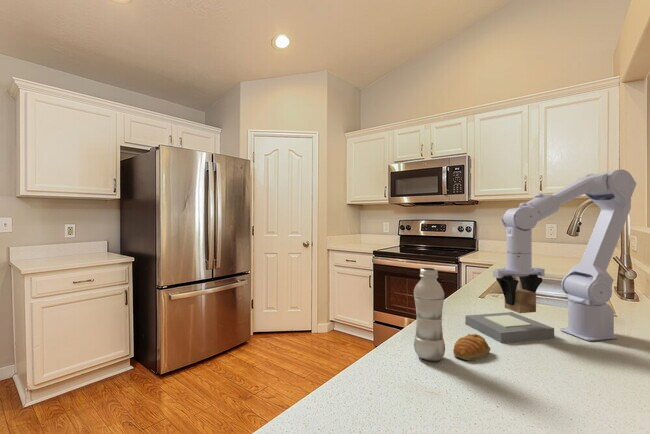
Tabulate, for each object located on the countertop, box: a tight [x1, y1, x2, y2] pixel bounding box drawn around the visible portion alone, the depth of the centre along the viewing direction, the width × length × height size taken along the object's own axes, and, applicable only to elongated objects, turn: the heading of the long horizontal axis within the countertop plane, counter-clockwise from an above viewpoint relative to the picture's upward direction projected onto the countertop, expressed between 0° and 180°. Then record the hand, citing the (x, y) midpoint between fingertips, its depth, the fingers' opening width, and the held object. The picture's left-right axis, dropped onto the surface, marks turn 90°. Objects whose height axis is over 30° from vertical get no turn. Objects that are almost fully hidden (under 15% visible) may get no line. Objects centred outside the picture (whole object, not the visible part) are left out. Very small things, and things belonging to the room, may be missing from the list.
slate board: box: [464, 311, 555, 344], centre depth 86 cm, size 16×14×3 cm
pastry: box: [452, 333, 491, 362], centre depth 72 cm, size 9×7×4 cm
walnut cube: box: [504, 287, 537, 314], centre depth 83 cm, size 5×5×5 cm
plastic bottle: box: [413, 267, 446, 362], centre depth 70 cm, size 6×7×20 cm
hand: (518, 303), depth 83 cm, fingers closed on walnut cube, 5 cm apart
